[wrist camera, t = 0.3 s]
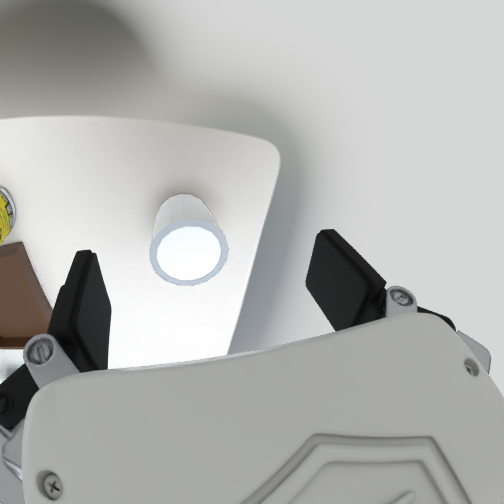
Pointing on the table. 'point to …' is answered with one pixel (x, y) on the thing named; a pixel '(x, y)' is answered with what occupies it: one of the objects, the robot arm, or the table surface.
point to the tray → (20, 299)
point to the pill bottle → (6, 214)
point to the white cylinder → (187, 242)
